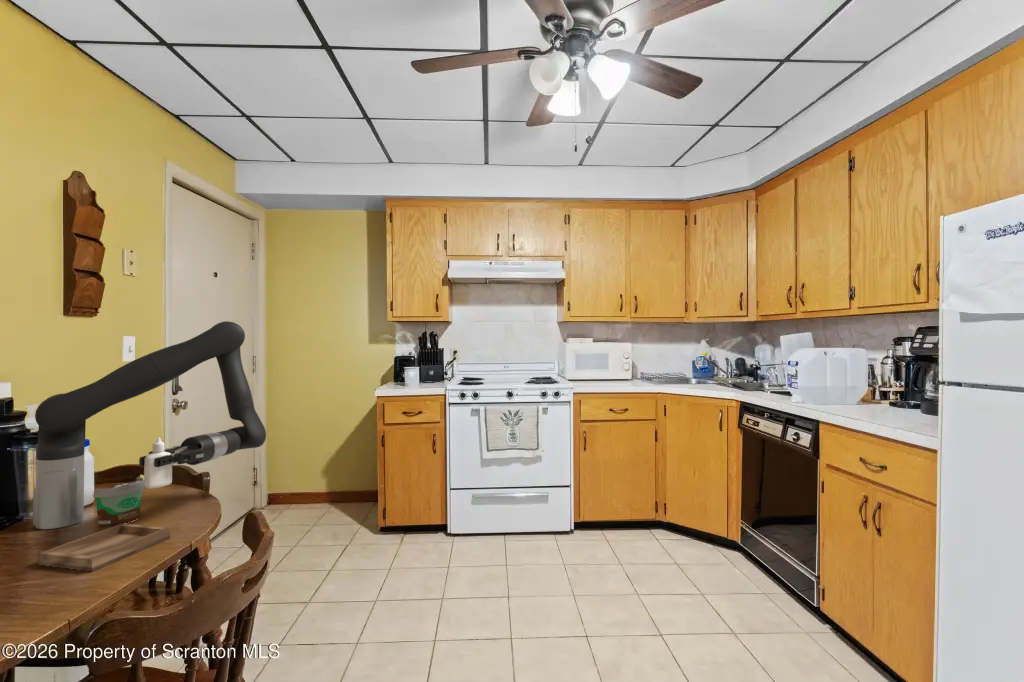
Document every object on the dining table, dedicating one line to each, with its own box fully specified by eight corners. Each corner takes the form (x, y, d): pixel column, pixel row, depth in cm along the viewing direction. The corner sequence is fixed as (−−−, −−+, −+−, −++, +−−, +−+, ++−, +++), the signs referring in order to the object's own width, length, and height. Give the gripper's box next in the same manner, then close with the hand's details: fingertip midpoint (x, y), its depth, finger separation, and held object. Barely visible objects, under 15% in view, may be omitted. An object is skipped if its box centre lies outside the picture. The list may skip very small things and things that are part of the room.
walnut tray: (38, 565, 105) (38, 553, 105) (121, 533, 122) (122, 523, 122) (92, 571, 102) (92, 559, 102) (169, 538, 119) (169, 528, 119)
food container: (112, 531, 124) (113, 490, 124) (92, 529, 125) (93, 489, 125) (157, 514, 136) (157, 477, 136) (138, 512, 137) (138, 476, 137)
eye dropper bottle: (171, 486, 124) (171, 438, 124) (143, 489, 121) (143, 440, 121) (172, 482, 128) (172, 435, 128) (145, 485, 125) (145, 437, 125)
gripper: (183, 433, 140) (124, 445, 123) (226, 435, 137) (172, 448, 120) (182, 460, 140) (123, 476, 123) (226, 462, 137) (172, 479, 120)
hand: (148, 462), depth 122 cm, fingers closed on eye dropper bottle, 3 cm apart
